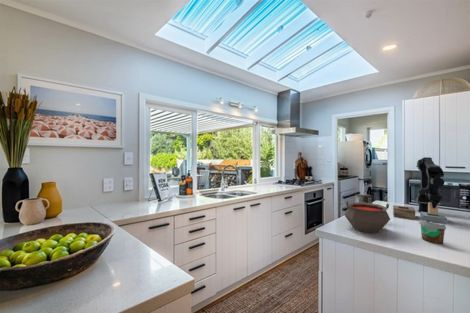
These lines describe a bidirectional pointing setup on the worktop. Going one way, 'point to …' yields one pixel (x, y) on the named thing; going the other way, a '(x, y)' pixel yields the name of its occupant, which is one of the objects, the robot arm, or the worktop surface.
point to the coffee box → (363, 198)
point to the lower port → (433, 217)
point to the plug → (432, 209)
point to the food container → (432, 231)
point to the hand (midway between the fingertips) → (433, 207)
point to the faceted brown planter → (367, 216)
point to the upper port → (404, 212)
